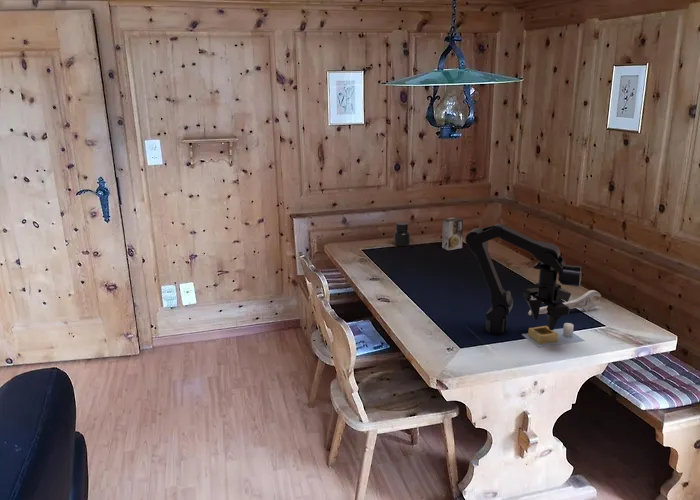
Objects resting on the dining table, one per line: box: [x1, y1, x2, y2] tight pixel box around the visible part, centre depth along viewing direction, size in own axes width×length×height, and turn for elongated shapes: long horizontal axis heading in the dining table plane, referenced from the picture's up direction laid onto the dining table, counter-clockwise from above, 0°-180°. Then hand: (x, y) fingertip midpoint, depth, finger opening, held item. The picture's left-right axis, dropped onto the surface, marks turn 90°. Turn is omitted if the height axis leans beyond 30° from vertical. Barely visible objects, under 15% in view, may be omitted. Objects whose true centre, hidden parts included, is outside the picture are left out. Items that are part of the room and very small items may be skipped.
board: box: [521, 322, 586, 349], centre depth 198 cm, size 18×11×5 cm, turn 105°
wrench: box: [527, 289, 602, 316], centre depth 220 cm, size 8×2×30 cm
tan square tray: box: [527, 325, 558, 345], centre depth 197 cm, size 7×7×3 cm
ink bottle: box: [393, 221, 411, 247], centre depth 313 cm, size 10×9×12 cm
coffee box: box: [441, 216, 464, 251], centre depth 304 cm, size 9×6×16 cm
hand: (543, 324), depth 196 cm, fingers open, 9 cm apart
